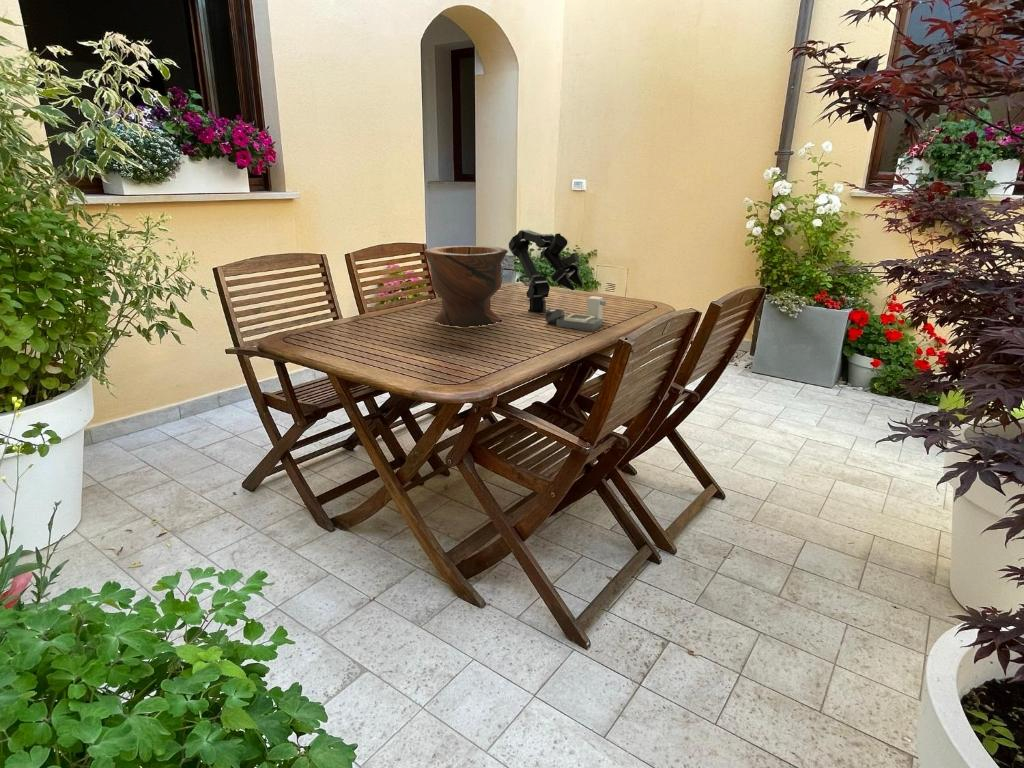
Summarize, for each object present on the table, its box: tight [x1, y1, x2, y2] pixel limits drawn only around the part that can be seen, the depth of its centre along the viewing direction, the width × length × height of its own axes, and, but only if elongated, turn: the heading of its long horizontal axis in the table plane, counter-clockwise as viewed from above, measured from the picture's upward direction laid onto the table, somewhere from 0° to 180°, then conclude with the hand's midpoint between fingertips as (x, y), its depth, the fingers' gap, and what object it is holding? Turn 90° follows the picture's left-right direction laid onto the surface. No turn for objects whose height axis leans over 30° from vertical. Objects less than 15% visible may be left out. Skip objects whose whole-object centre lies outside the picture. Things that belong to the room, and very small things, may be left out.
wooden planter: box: [423, 245, 508, 327], centre depth 255 cm, size 34×35×29 cm
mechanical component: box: [521, 277, 530, 287], centre depth 303 cm, size 3×10×10 cm, turn 89°
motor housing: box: [544, 308, 603, 332], centre depth 250 cm, size 22×10×6 cm, turn 62°
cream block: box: [586, 295, 607, 320], centre depth 257 cm, size 7×5×10 cm
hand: (578, 287), depth 258 cm, fingers open, 9 cm apart
